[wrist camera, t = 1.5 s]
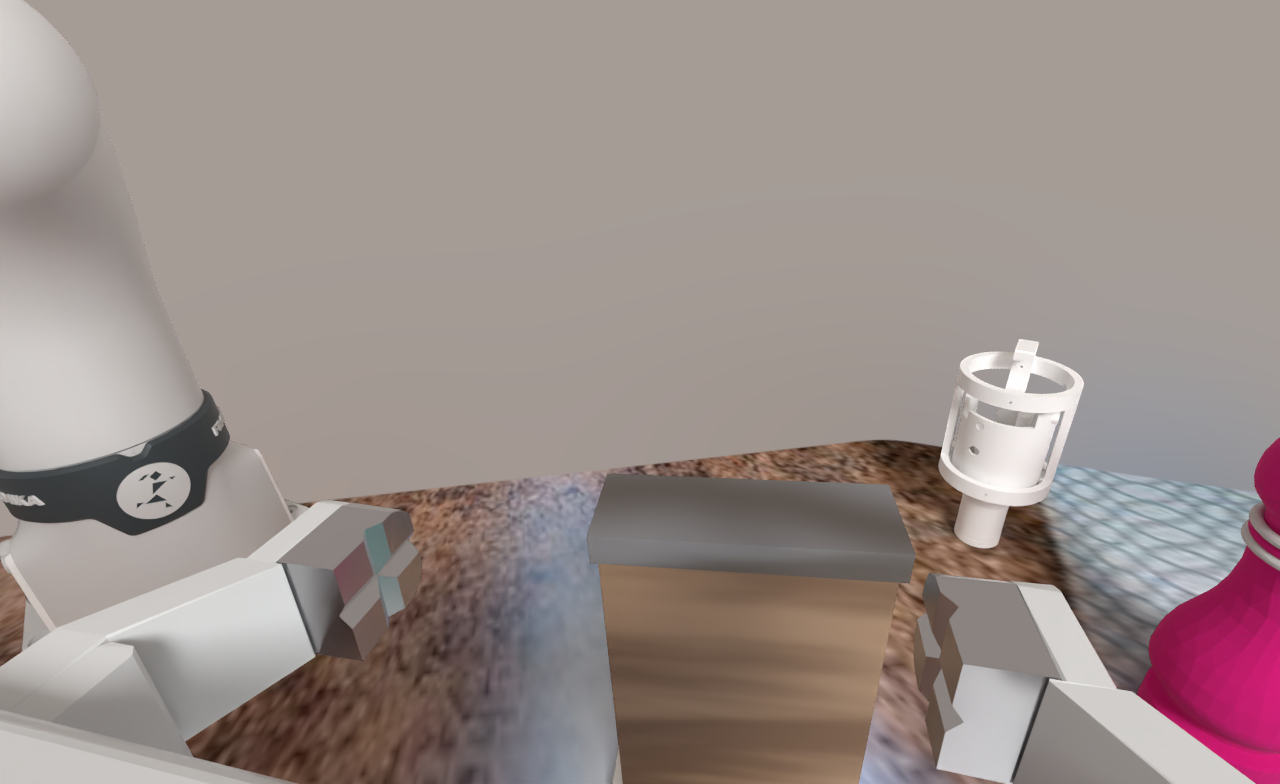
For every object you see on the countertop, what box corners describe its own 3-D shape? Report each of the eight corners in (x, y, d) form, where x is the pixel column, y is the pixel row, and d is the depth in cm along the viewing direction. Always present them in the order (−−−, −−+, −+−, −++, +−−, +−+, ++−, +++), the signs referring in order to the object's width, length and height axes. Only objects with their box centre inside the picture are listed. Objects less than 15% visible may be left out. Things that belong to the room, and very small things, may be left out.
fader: (852, 851, 26) (915, 554, 18) (620, 821, 28) (587, 535, 20) (839, 768, 29) (888, 484, 21) (632, 745, 31) (607, 473, 23)
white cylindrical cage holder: (1034, 524, 46) (1091, 348, 39) (1023, 581, 41) (1087, 390, 34) (936, 495, 50) (973, 330, 43) (916, 544, 45) (954, 365, 38)
